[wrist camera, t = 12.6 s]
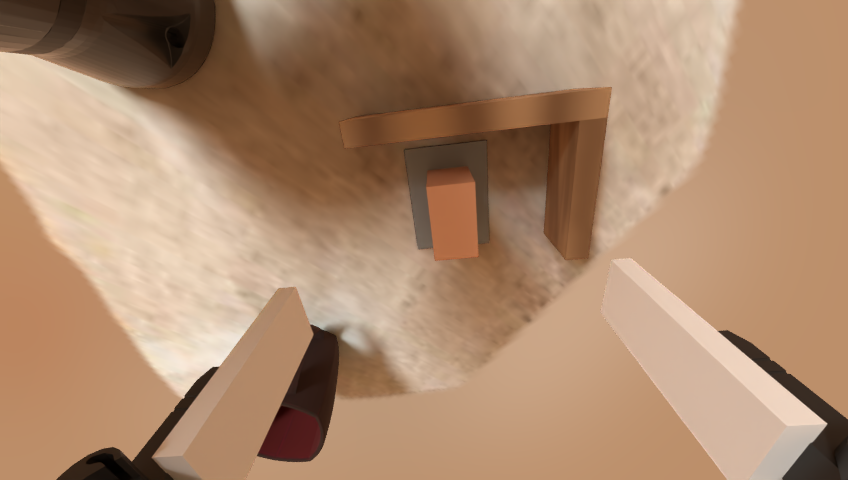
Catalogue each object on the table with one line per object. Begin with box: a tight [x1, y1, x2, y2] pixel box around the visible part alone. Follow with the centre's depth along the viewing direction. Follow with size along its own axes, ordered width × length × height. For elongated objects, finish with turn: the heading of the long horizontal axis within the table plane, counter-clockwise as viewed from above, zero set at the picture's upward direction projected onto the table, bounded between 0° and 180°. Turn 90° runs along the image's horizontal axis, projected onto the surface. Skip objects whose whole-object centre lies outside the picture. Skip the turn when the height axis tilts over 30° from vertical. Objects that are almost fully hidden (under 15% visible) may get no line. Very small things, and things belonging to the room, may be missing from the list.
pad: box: [404, 140, 489, 249], centre depth 31 cm, size 8×11×1 cm
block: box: [426, 166, 478, 261], centre depth 29 cm, size 7×4×6 cm, turn 7°
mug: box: [257, 325, 339, 462], centre depth 35 cm, size 10×14×12 cm
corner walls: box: [339, 87, 612, 260], centre depth 28 cm, size 20×14×6 cm
